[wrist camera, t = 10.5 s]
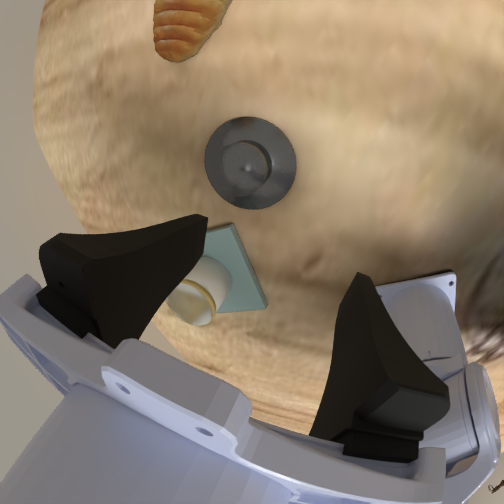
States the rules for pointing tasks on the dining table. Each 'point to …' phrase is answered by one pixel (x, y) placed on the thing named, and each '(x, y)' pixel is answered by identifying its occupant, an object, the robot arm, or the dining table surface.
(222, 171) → the grey round lid
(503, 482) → the coffee pot
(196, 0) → the pastry
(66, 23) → the dining table surface
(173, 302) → the can
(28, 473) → the robot arm
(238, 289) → the coaster
